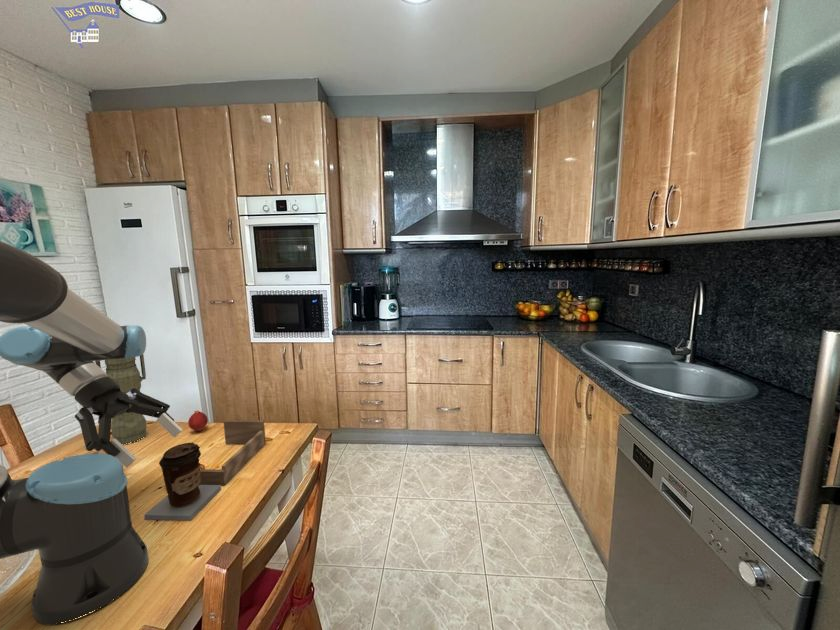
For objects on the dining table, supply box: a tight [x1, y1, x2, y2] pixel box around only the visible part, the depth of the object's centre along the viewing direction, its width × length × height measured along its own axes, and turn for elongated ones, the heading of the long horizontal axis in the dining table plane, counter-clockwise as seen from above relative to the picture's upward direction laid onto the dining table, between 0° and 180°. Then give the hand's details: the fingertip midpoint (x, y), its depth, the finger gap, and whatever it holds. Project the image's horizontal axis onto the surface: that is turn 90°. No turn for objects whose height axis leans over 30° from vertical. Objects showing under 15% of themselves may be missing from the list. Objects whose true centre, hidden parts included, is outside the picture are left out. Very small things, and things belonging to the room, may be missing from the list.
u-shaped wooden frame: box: [199, 419, 266, 487], centre depth 99 cm, size 22×13×8 cm, turn 178°
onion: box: [187, 409, 209, 432], centre depth 119 cm, size 6×6×8 cm
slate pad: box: [143, 485, 222, 522], centre depth 82 cm, size 11×11×1 cm
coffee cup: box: [158, 442, 202, 508], centre depth 81 cm, size 9×8×13 cm
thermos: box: [94, 353, 148, 444], centre depth 112 cm, size 9×12×35 cm
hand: (157, 447), depth 81 cm, fingers open, 13 cm apart
